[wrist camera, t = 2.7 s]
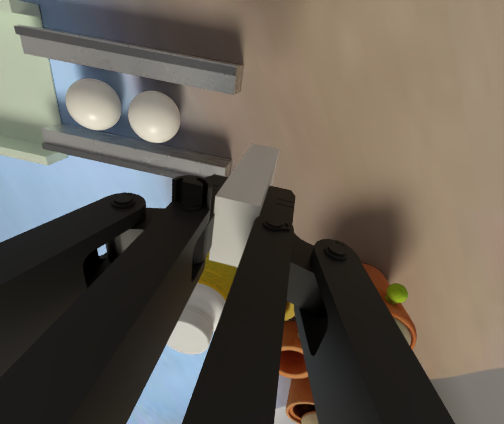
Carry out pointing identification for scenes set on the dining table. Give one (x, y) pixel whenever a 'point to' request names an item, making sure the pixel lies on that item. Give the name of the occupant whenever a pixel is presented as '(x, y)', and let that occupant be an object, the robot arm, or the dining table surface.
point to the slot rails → (139, 64)
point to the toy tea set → (293, 358)
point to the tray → (24, 89)
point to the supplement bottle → (203, 309)
